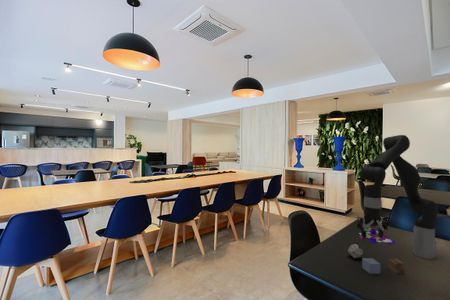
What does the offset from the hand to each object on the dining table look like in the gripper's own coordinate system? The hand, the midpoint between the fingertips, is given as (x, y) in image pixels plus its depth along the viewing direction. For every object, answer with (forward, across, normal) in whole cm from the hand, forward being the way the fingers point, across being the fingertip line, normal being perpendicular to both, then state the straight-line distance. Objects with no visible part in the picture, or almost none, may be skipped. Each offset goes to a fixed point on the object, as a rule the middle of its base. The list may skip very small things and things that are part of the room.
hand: (372, 237), depth 111 cm
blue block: (+17, 0, 0) cm, 17 cm away
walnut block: (+17, -13, 0) cm, 21 cm away
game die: (+17, 0, -13) cm, 22 cm away
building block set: (+18, -34, -42) cm, 57 cm away
